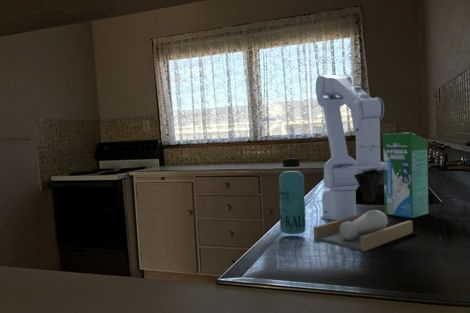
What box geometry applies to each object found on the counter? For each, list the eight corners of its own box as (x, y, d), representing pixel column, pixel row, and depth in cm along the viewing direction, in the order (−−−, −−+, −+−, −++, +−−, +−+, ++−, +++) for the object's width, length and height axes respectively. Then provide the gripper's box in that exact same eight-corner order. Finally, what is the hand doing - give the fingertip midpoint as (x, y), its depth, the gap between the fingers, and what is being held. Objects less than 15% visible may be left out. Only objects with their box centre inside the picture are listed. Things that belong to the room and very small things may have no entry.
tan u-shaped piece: (314, 239, 93) (313, 226, 93) (363, 224, 106) (363, 213, 106) (364, 251, 82) (364, 237, 82) (412, 232, 95) (412, 220, 94)
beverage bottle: (287, 232, 100) (284, 157, 99) (310, 235, 96) (308, 157, 95) (275, 238, 95) (272, 158, 94) (299, 241, 91) (296, 158, 90)
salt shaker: (392, 232, 92) (355, 247, 86) (372, 228, 97) (336, 241, 91) (390, 209, 92) (352, 222, 85) (370, 206, 97) (334, 218, 90)
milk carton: (428, 213, 115) (427, 131, 114) (412, 218, 110) (410, 132, 109) (401, 209, 123) (399, 132, 121) (384, 213, 118) (382, 133, 116)
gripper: (365, 148, 87) (366, 206, 87) (398, 145, 95) (399, 198, 96) (339, 148, 92) (341, 203, 93) (373, 145, 101) (374, 195, 102)
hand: (369, 200), depth 95 cm, fingers closed
